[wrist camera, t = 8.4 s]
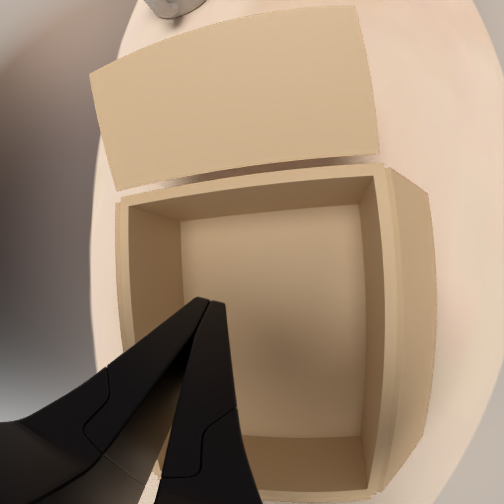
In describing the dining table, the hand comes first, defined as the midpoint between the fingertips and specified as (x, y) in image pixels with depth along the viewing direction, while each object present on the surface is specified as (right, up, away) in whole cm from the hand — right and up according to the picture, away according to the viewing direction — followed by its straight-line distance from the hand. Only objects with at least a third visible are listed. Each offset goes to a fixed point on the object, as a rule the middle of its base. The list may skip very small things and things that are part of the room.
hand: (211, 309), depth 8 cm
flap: (0, +9, +4) cm, 10 cm away
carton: (+3, -6, +12) cm, 14 cm away
